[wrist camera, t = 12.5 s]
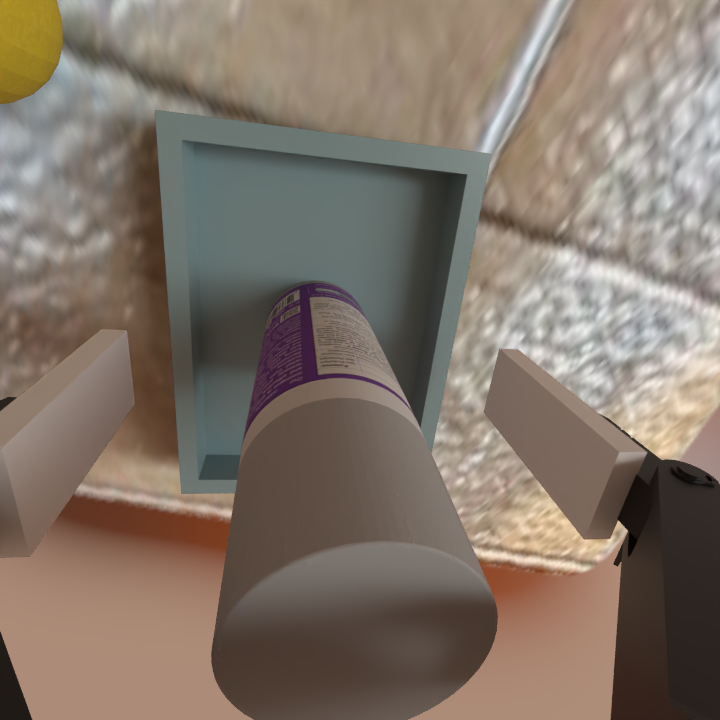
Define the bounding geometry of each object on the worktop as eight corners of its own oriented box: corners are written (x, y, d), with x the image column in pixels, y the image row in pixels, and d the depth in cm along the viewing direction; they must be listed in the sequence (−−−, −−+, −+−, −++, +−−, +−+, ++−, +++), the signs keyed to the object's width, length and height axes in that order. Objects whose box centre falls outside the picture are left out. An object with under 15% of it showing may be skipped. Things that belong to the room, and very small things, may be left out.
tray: (177, 119, 17) (154, 109, 14) (463, 156, 19) (491, 153, 16) (194, 455, 23) (181, 493, 20) (409, 457, 25) (423, 491, 22)
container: (285, 386, 21) (267, 771, 8) (250, 297, 19) (142, 599, 6) (376, 358, 21) (521, 689, 8) (351, 267, 19) (485, 494, 6)
